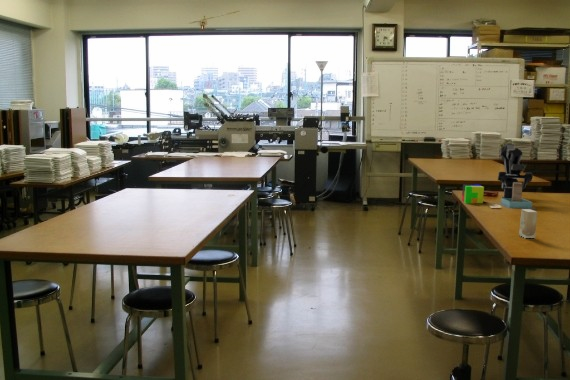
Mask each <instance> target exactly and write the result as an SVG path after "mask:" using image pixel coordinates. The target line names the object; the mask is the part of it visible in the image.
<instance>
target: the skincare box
mask: <svg viewBox="0 0 570 380" xmlns="http://www.w3.org/2000/svg"><path fill="white" fill-rule="evenodd" d="M537 219H538V211H536V210H535V209H521V212H520V220H519V232H518V236H519V235H520V236H519V237H521V236H522V237H521V238H523V237H524V238H523V239H525V238H535V239H536V230H537Z"/></svg>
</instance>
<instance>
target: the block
mask: <svg viewBox="0 0 570 380" xmlns="http://www.w3.org/2000/svg"><path fill="white" fill-rule="evenodd" d="M522 195H523V183H522V182H519V183H517V182H513V189H512V202H521V199H523V197H522Z"/></svg>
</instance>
